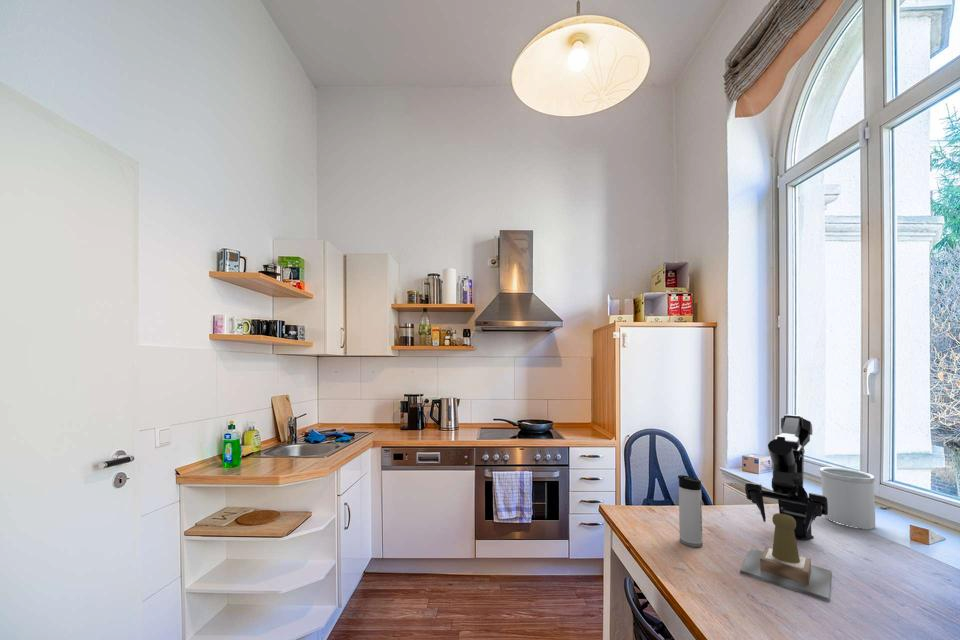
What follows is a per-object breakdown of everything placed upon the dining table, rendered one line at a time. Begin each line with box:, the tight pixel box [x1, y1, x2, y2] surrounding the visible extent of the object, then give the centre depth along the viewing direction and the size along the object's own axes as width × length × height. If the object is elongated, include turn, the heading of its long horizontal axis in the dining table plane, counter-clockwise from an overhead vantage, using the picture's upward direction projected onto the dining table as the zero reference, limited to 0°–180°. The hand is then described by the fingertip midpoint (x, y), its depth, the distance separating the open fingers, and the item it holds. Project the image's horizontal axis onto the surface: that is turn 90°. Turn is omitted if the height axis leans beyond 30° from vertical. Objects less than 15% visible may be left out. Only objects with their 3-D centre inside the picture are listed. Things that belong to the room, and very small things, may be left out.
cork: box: [772, 512, 800, 563], centre depth 109 cm, size 6×6×11 cm
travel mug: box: [677, 474, 703, 548], centre depth 126 cm, size 6×7×20 cm
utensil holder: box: [819, 466, 876, 530], centre depth 148 cm, size 15×15×18 cm
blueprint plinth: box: [739, 546, 832, 603], centre depth 109 cm, size 18×18×4 cm
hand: (784, 525), depth 111 cm, fingers open, 9 cm apart
